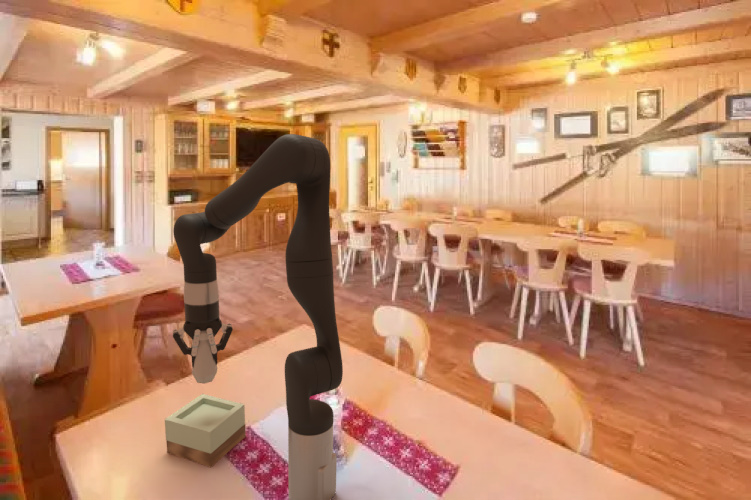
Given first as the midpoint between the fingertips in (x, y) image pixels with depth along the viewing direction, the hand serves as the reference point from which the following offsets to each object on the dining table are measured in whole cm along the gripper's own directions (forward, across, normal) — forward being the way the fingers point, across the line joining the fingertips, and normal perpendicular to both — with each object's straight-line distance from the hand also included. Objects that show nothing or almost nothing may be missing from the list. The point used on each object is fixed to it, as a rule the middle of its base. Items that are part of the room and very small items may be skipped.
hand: (204, 367), depth 111 cm
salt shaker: (+3, 0, 0) cm, 3 cm away
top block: (+17, 0, 0) cm, 17 cm away
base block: (+21, 0, 0) cm, 21 cm away
